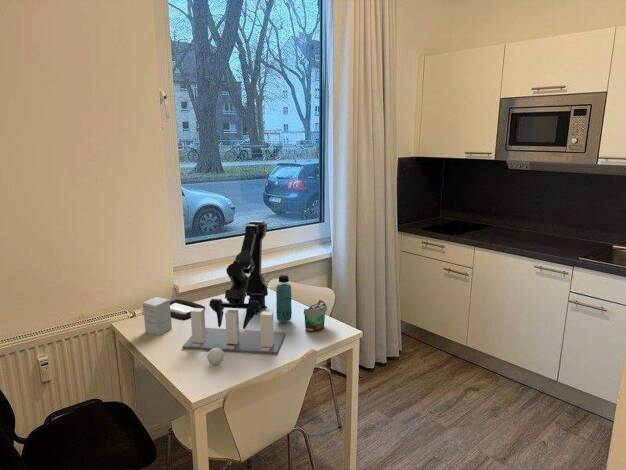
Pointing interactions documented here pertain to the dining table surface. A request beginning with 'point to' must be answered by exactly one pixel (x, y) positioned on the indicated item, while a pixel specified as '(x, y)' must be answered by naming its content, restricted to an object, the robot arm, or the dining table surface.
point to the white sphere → (215, 356)
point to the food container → (315, 317)
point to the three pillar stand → (249, 339)
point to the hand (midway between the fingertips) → (231, 327)
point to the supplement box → (157, 315)
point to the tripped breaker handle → (232, 326)
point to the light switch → (182, 309)
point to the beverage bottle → (283, 299)
